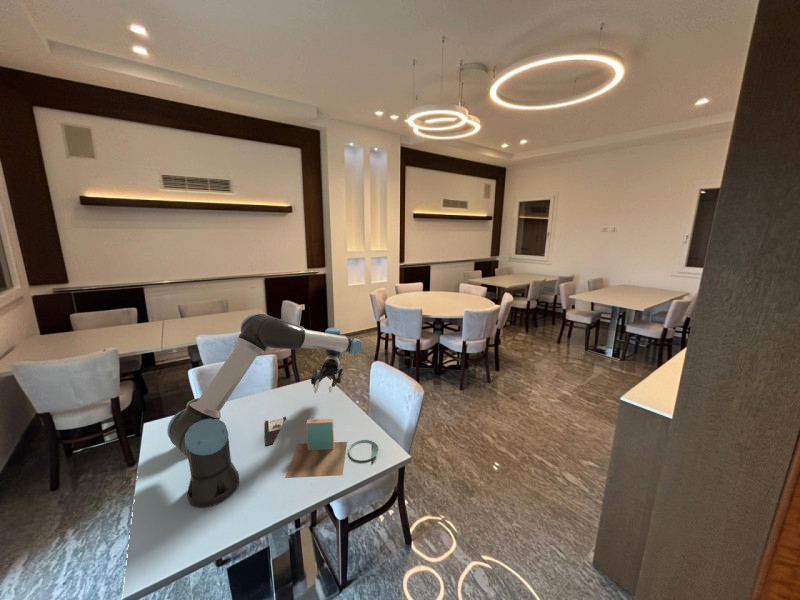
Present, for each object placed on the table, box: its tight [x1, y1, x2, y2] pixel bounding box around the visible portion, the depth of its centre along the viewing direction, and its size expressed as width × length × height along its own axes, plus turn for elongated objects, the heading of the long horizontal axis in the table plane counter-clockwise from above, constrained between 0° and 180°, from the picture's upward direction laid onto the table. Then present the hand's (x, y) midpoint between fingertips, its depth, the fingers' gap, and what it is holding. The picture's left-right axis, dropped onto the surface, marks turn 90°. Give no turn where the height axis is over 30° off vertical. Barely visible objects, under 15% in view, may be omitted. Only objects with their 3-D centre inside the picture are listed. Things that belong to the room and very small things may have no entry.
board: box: [285, 441, 348, 479], centre depth 119 cm, size 20×18×1 cm
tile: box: [305, 418, 335, 450], centre depth 123 cm, size 10×3×12 cm, turn 94°
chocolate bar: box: [264, 416, 287, 447], centre depth 137 cm, size 9×1×18 cm
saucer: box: [347, 439, 380, 462], centre depth 123 cm, size 12×12×2 cm
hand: (322, 389), depth 129 cm, fingers open, 5 cm apart
